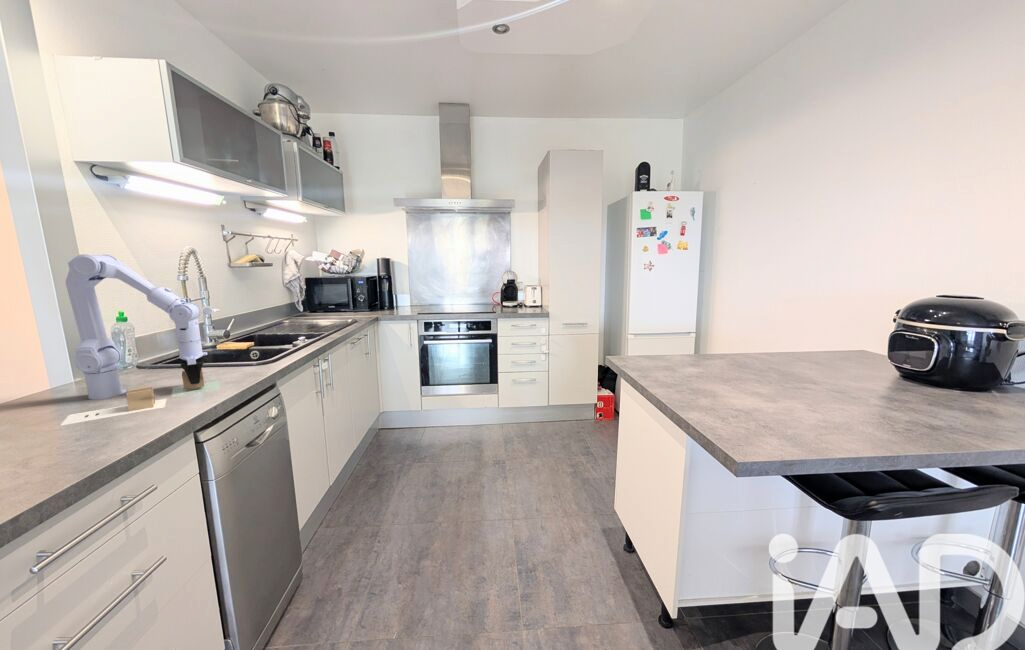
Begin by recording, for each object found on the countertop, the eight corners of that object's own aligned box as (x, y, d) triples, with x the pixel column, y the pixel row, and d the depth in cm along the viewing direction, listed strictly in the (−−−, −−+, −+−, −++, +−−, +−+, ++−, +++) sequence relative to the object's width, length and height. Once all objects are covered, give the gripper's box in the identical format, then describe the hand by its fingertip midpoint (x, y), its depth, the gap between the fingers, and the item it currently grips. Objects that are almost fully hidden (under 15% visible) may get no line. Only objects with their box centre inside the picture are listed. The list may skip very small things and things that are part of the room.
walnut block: (184, 385, 127) (182, 371, 127) (204, 382, 130) (201, 368, 130) (184, 389, 124) (181, 374, 123) (204, 386, 127) (201, 371, 126)
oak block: (131, 406, 112) (128, 389, 111) (154, 402, 115) (152, 385, 114) (129, 411, 108) (126, 394, 107) (153, 407, 111) (150, 390, 110)
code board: (69, 416, 106) (69, 414, 106) (166, 400, 118) (166, 398, 118) (60, 427, 99) (59, 425, 99) (164, 409, 111) (164, 406, 111)
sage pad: (173, 389, 128) (173, 387, 128) (218, 382, 136) (218, 380, 136) (171, 399, 119) (171, 397, 119) (220, 391, 127) (219, 389, 126)
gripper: (205, 342, 122) (211, 384, 124) (205, 335, 133) (210, 374, 135) (175, 345, 117) (182, 389, 120) (178, 338, 128) (183, 378, 131)
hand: (195, 381), depth 127 cm, fingers closed on walnut block, 5 cm apart
